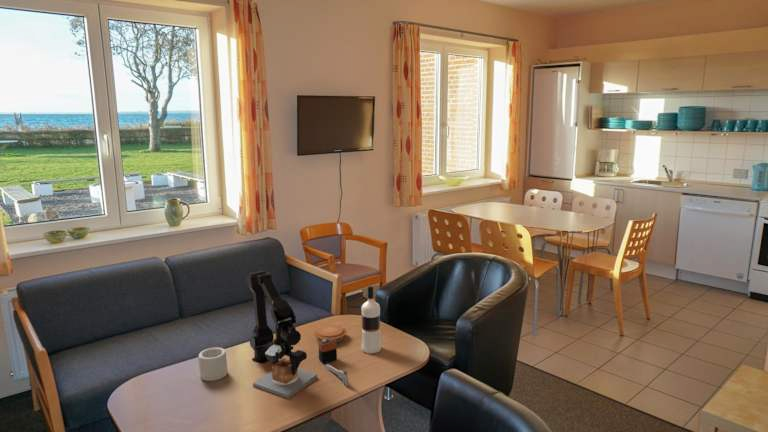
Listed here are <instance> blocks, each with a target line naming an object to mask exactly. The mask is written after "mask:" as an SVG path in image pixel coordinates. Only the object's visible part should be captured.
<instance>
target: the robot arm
mask: <svg viewBox="0 0 768 432" xmlns="http://www.w3.org/2000/svg"><path fill="white" fill-rule="evenodd" d="M246 283H247V286H248V288H249V289H250V291H251V292H252V297H253V306H254V307H253V308H254V317H255V319H254V320H255V326H254V328H253V329H252V336H251V338H250V341H249V345H250V348H251V349H252V350H253V351H254V352H253V353H254V355H253V356H254V357H253V358H252V359H251V360H252V361H253V362H257V363H259V364H264V363H266V362H268V361H271V364H272V365H274V364H275V363H277V362H279V361H280V360H282V359H283V357H284V356H286V357H288V360H290V361H291V362H289V363H290V364H291V365H292V374H293V376H294V375H295V374H296V372H297V369H298V368H299V366H300V365H301V363H302V362H303V361H305V360H306V359H307V358H308V357H307V356H308V355H307V352H306V351H303V350H299V349H297V350H296V351H292V350H293V349H294V346H296V345H297V344H299V343H300V341H301V339H302V334H301V333H300V332H299V330H297V329H296V326H294V325H295V324H297V321H296V320H297V317H296V313H295V312H294V310H293V307H292V306H290V303H289V302H288V301H287V300H285V299H283V298H282V297H281V295H280V292H279V291H278V289H277V286H276V285H275V283H274V281H273V277H272V274H270V272H265V271H264V270H260V271H256V272H250V273H248V275H247V276H246ZM266 298H267V300H268V302H269V304H270V306H271V309H270V315H271V318H272V321H273V324H274V328H275V330H274V332H275V337H274V333H273V329H271V327H270V326H269V325H268V317H267V309H266V306H267V304H266ZM274 338H275V339H274Z"/></svg>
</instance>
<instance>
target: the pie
mask: <svg viewBox="0 0 768 432" xmlns="http://www.w3.org/2000/svg"><path fill="white" fill-rule="evenodd" d="M346 334H347V329H346V327H345V328H344V327H342V326H339V325H335V324H328V325H322V326H320V327H318V328H317V329H315V330H314V331H313V335H314V337H315V338H316V339H317V341H318V342H319V341H321V340H322V339H329V338H333V339H334V340H335V341H336V344H338V343H340V342H341V341H342V340H343V338H344V337H345V336H346Z"/></svg>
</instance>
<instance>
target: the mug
mask: <svg viewBox="0 0 768 432" xmlns="http://www.w3.org/2000/svg"><path fill="white" fill-rule="evenodd" d="M197 356H198V367H199V377H200V379H201V380H202V381H205V382H214V381H218V380H221V379H224V377H226V375H227V374H228V361H227V351H226V349H224V348H222V347H217V346H216V347H209V348H205V349H203V350H201V351H200V352H199V354H198V355H197Z"/></svg>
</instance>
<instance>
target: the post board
mask: <svg viewBox="0 0 768 432" xmlns="http://www.w3.org/2000/svg"><path fill="white" fill-rule="evenodd" d="M297 371H298V376H297V377H296V378H294V379H293V380H291V381H290V382H288V383H287V384H285V383H282V382H279V381H275V380H273V377H272V370H271V371H270V372H268V373H266V374H265V375H263V376H261V377H260V378H258V379H256V380H255V381H253V382H252V387H254V388H256V389H260V390H262V391H265V392H268V393H271V394H273V395H276V396H280V397H283V398H285V399H290V398H291V397H292V396H294V395H295V394H297V393H298V392H300V391H301V390H303V389H304V388H305V387H307V386H308V385H309V384H311V383H312V382H314V381H315V380H316V379H318V373H314V372H311V371H309V370H308V371H307V370H305V369H301V368H299V367H298V369H297Z"/></svg>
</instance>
